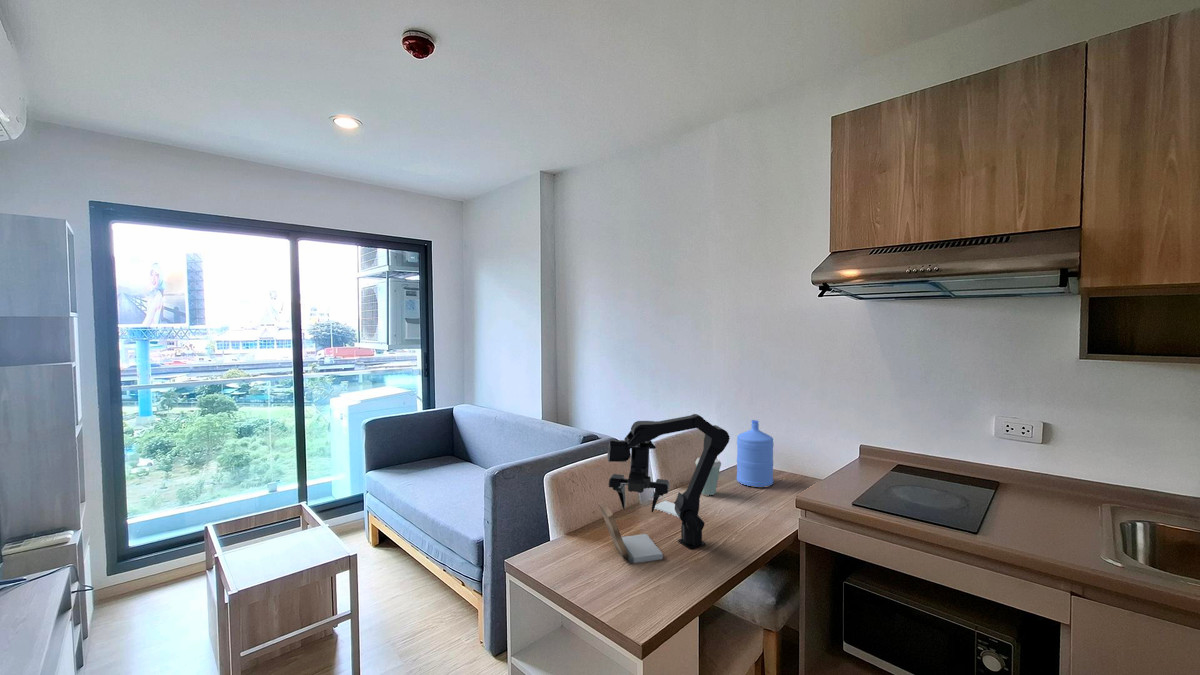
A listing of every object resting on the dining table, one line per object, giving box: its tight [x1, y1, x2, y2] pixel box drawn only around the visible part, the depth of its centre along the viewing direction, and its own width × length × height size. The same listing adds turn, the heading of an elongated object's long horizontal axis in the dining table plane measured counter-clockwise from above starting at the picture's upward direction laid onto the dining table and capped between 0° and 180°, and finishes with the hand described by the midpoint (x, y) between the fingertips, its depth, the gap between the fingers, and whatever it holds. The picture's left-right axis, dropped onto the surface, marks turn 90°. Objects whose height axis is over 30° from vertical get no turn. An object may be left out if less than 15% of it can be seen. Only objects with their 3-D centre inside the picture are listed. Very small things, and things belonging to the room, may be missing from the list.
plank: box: [597, 499, 629, 560], centre depth 143 cm, size 14×12×2 cm
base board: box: [621, 533, 664, 564], centre depth 145 cm, size 10×14×2 cm
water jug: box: [736, 419, 774, 487], centre depth 208 cm, size 16×16×28 cm
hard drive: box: [654, 500, 679, 518], centre depth 177 cm, size 2×8×12 cm
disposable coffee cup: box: [694, 456, 722, 497], centre depth 194 cm, size 11×11×15 cm
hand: (638, 510), depth 148 cm, fingers open, 9 cm apart
